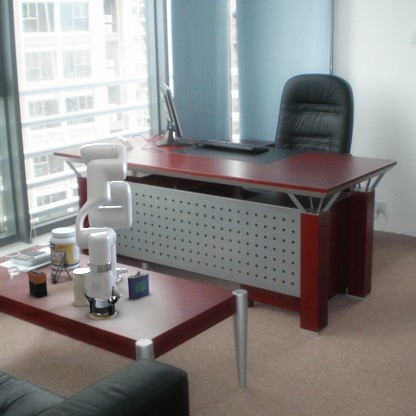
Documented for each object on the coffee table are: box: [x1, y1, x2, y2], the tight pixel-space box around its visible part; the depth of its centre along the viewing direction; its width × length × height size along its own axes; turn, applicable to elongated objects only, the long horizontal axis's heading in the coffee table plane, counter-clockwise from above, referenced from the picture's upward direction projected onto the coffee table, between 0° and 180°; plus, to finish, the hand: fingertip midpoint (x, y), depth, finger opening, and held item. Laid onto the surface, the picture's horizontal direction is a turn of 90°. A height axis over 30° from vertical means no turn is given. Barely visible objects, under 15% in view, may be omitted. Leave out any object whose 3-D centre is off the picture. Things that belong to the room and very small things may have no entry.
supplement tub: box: [49, 226, 81, 271], centre depth 296 cm, size 12×12×17 cm
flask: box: [127, 270, 150, 301], centre depth 263 cm, size 9×3×11 cm, turn 138°
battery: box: [27, 268, 48, 299], centre depth 263 cm, size 4×7×10 cm, turn 47°
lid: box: [92, 300, 109, 314], centre depth 245 cm, size 7×7×2 cm
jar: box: [72, 268, 90, 307], centre depth 255 cm, size 6×6×13 cm
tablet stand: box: [50, 257, 73, 284], centre depth 281 cm, size 9×8×8 cm
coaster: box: [87, 309, 118, 321], centre depth 246 cm, size 10×10×1 cm
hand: (102, 312), depth 246 cm, fingers closed on lid, 7 cm apart
